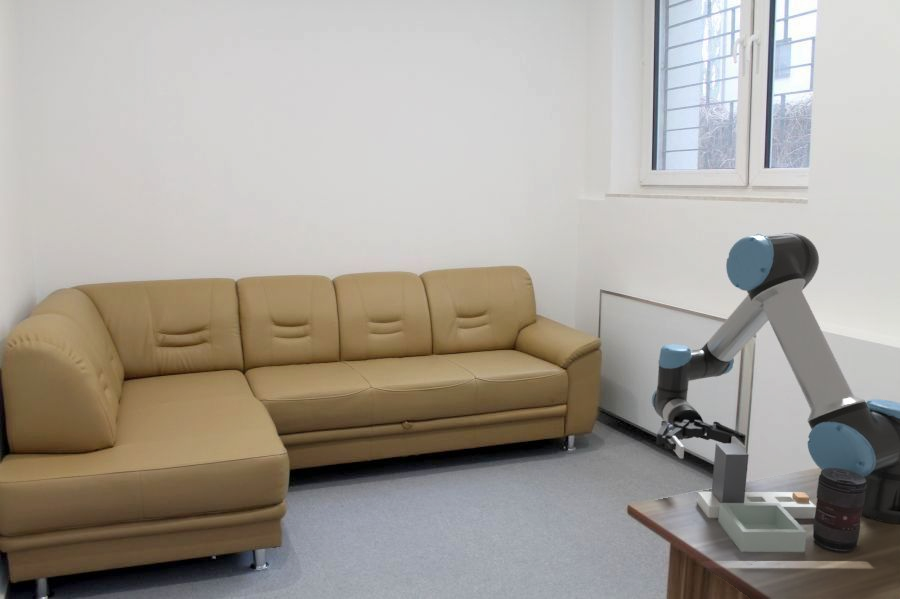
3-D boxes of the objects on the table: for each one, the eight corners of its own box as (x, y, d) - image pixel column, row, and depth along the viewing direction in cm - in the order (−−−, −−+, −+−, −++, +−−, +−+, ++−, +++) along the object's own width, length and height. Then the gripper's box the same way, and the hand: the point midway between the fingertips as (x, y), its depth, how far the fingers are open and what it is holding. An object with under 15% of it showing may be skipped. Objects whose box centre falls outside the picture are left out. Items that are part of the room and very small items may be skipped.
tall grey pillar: (731, 502, 167) (737, 443, 164) (742, 516, 161) (748, 454, 158) (710, 502, 167) (715, 443, 164) (720, 515, 161) (726, 454, 158)
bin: (776, 526, 159) (779, 503, 158) (804, 556, 148) (806, 532, 147) (717, 526, 159) (719, 502, 158) (740, 556, 147) (743, 531, 146)
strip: (799, 507, 168) (801, 487, 167) (814, 522, 161) (817, 502, 160) (696, 506, 167) (698, 487, 166) (707, 522, 160) (709, 501, 160)
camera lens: (863, 561, 146) (873, 486, 143) (816, 556, 148) (825, 481, 145) (850, 541, 154) (859, 468, 151) (806, 536, 155) (814, 464, 153)
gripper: (731, 434, 194) (767, 469, 173) (630, 433, 193) (655, 468, 172) (734, 405, 192) (771, 437, 171) (632, 403, 191) (657, 436, 171)
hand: (713, 452), depth 172 cm, fingers open, 13 cm apart
